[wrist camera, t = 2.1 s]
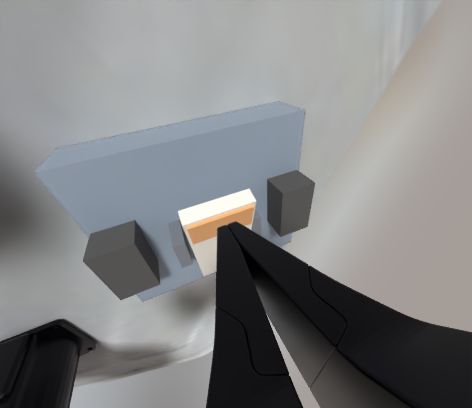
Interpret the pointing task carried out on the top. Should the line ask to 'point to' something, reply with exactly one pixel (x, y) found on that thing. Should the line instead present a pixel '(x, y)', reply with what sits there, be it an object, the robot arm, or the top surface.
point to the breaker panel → (176, 178)
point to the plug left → (123, 259)
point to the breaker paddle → (215, 224)
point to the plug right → (289, 202)
